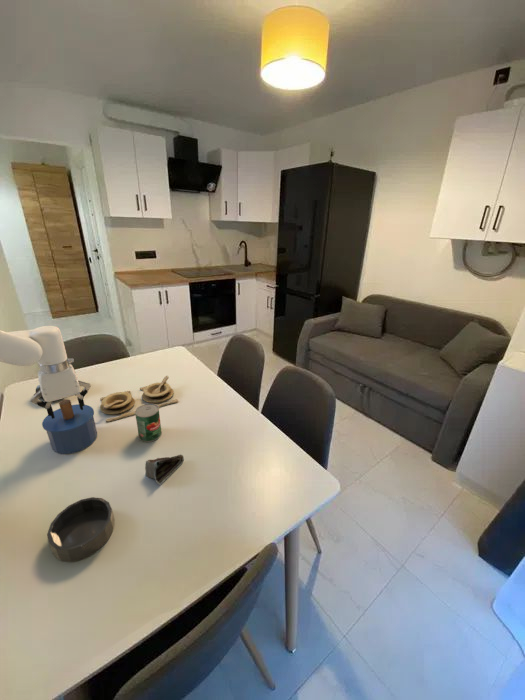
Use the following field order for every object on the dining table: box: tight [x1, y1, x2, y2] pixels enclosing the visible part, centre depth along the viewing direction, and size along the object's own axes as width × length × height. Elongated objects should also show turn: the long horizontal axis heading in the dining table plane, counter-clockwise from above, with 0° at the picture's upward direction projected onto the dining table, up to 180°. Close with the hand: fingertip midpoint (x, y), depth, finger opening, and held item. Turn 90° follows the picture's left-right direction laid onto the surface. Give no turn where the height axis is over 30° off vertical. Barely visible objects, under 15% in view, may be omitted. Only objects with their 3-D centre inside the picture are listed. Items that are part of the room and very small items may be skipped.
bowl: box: [46, 496, 115, 563], centre depth 72 cm, size 13×13×4 cm
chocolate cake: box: [144, 454, 185, 486], centre depth 91 cm, size 10×7×12 cm
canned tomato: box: [134, 403, 163, 443], centre depth 104 cm, size 8×8×11 cm
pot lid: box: [41, 398, 95, 433], centre depth 97 cm, size 15×15×7 cm
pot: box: [46, 416, 98, 455], centre depth 100 cm, size 14×14×10 cm
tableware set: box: [99, 375, 179, 423], centre depth 124 cm, size 30×20×6 cm, turn 124°
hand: (67, 411), depth 97 cm, fingers open, 7 cm apart
